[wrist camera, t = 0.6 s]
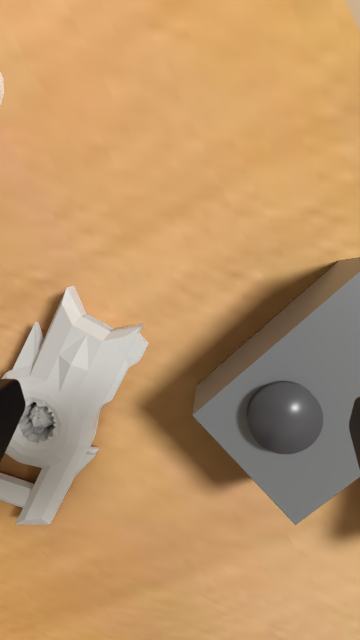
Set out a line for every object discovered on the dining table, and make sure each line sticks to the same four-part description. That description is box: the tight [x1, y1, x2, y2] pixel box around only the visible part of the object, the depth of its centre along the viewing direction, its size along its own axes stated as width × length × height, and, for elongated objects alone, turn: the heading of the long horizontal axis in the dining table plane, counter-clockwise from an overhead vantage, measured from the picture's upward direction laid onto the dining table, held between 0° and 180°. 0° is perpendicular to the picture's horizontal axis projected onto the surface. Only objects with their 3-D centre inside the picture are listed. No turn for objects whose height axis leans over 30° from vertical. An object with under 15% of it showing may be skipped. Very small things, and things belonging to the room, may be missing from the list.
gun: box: [0, 286, 149, 525], centre depth 23 cm, size 18×3×10 cm
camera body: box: [192, 257, 360, 525], centre depth 19 cm, size 8×12×6 cm
